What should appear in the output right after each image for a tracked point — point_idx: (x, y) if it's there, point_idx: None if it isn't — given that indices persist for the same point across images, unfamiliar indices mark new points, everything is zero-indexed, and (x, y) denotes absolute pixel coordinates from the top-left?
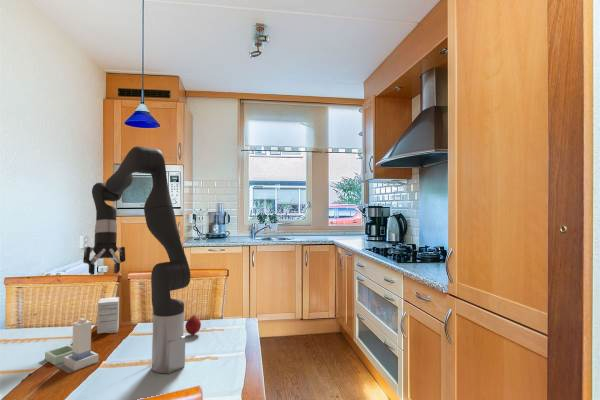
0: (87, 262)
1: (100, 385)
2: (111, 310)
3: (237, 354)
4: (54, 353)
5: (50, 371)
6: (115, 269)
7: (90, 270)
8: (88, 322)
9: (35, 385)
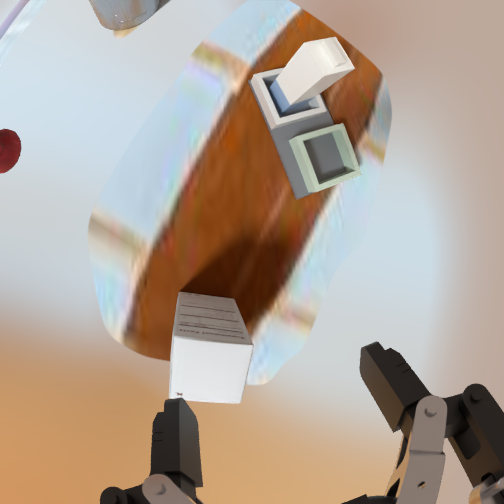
0: (467, 387)
1: (255, 2)
2: (198, 322)
3: (19, 24)
4: (340, 175)
5: (337, 111)
6: (189, 434)
7: (401, 362)
8: (312, 41)
9: (353, 71)
